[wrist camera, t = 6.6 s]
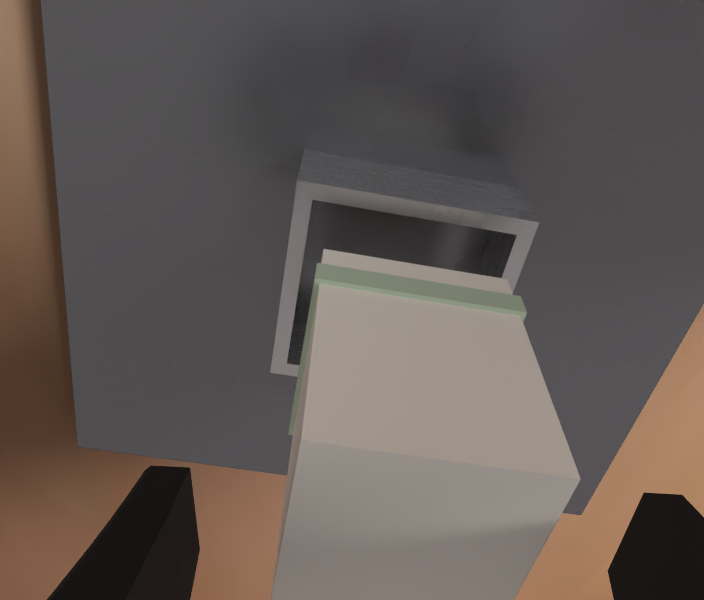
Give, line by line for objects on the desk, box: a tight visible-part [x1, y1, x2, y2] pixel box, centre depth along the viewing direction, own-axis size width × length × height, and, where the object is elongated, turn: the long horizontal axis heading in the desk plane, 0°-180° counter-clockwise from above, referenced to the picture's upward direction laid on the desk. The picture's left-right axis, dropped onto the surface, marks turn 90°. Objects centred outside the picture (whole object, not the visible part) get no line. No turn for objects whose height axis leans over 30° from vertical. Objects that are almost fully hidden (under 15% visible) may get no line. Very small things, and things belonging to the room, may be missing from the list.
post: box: [271, 249, 581, 600], centre depth 12 cm, size 4×4×6 cm
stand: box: [41, 0, 704, 515], centre depth 17 cm, size 18×18×4 cm
